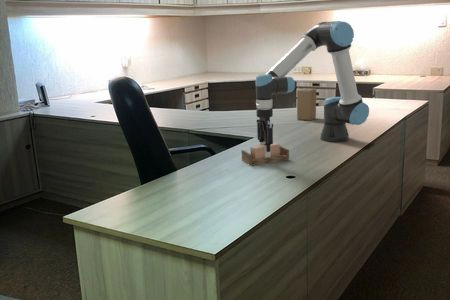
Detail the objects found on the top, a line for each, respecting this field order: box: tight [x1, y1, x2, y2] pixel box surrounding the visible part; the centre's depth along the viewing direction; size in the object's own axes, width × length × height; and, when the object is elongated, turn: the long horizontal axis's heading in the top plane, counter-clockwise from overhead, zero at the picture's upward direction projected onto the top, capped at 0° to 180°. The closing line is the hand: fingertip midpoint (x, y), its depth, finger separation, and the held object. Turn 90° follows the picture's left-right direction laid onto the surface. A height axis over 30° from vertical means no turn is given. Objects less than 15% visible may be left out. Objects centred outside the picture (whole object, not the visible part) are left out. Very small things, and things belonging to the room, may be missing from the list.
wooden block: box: [296, 87, 317, 121], centre depth 324 cm, size 10×10×20 cm
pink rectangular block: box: [250, 142, 281, 160], centre depth 231 cm, size 14×4×6 cm, turn 120°
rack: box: [241, 145, 290, 166], centre depth 231 cm, size 20×10×5 cm, turn 110°
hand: (265, 156), depth 232 cm, fingers closed on pink rectangular block, 5 cm apart
